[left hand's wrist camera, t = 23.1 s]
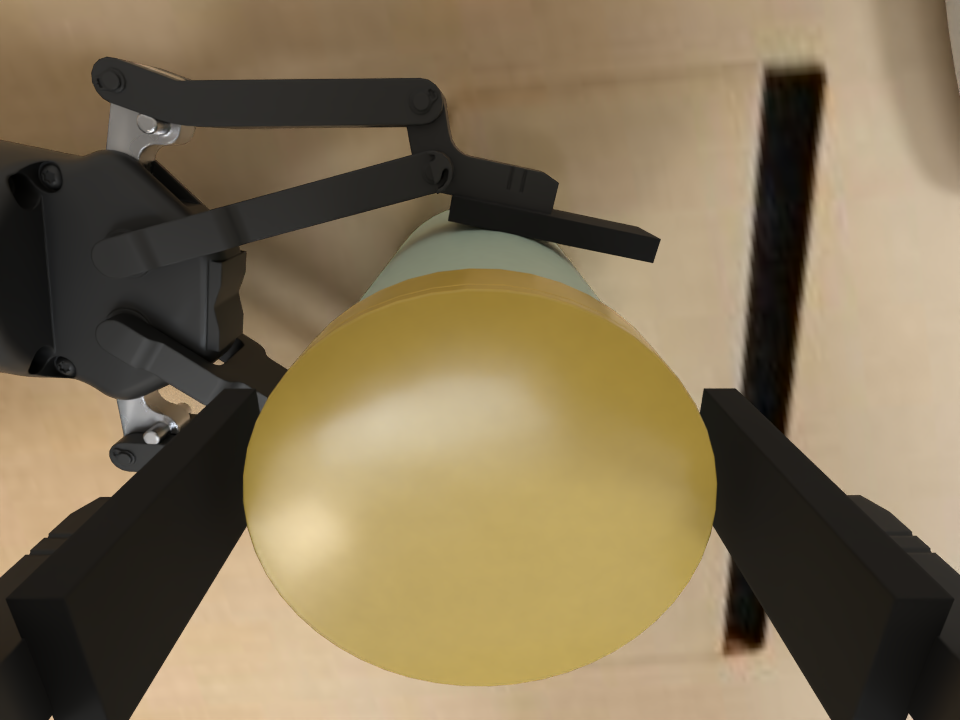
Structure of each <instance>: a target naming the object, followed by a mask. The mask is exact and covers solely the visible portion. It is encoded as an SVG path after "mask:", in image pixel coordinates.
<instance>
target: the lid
mask: <svg viewBox="0 0 960 720" xmlns="http://www.w3.org/2000/svg"><path fill="white" fill-rule="evenodd" d="M716 494H717V477H716V468H715V458H714V453H713V450H712V446H711V442H710V439H709V435H708V431H707V428H706V426H705V424H704V422H703V420H702V417H701V415H700V413H699V411H698V408H697V406H696V404H695V402H694V401H693V399H692V398H691V396H690V395H689V393H688V392H687V390H686V389H685V387H684V386H683V384H682V383H681V381H680V380H679V378H678V377H677V376H676V375H675V374H674V372H673V371H672V370H671V369H670V368H669V366H668V365H667V364H666V363H665V362H664V361H663V359H662V358H661V357H660V356H659V355H658V353H657V352H656V351H655V350H654V349H653V348H652V346H651V345H650V344H649V343H648V342H647V341H646V340H645V339H644V338H643V336H642V335H641V334H640V333H639V332H638V331H637V330H636V329H635V328H634V327H633V326H632V325H631V324H630V323H628V322H627V321H626V320H625V319H624V318H622V317H621V316H620V315H619V314H617V313H616V312H615V311H614V310H613V309H611V308H609V307H608V306H606V305H604V304H603V303H601V302H600V301H598V300H596V299H595V298H593V297H591V296H590V295H588V294H586V293H584V292H582V291H579V290H577V289H575V288H572V287H570V286H568V285H566V284H563V283H561V282H558V281H554V280H551V279H548V278H544V277H541V276H537V275H534V274H530V273H523V272H516V271H510V270H503V269H472V268H469V269H460V270H450V271H441V272H436V273H431V274H427V275H423V276H419V277H415V278H411V279H407V280H405V281H402V282H400V283H397V284H395V285H392V286H390V287H387V288H384V289H382V290H380V291H378V292H376V293H374V294H372V295H371V296H369V297H367V298H365V299H363V300H362V301H360V302H358V303H356V304H354V305H353V306H352V307H350V308H349V309H348V310H347V311H345V312H344V313H343V314H341V315H340V316H339V317H337V318H336V319H335V320H333V321H332V322H331V323H330V324H329V325H328V326H327V327H326V328H325V329H324V330H323V331H322V332H321V333H320V334H319V335H318V336H317V337H316V338H315V339H314V340H313V341H312V342H311V343H310V345H309V346H308V347H307V348H306V349H305V351H304V352H303V353H302V354H301V355H300V356H299V358H298V359H297V360H296V361H295V362H294V363H293V365H292V366H291V367H290V368H289V369H288V371H287V372H286V373H285V375H284V376H283V377H282V379H281V380H280V381H279V383H278V384H277V386H276V387H275V388H274V390H273V391H272V392H271V394H270V395H269V397H268V399H267V401H266V403H265V405H264V407H263V408H262V410H261V412H260V414H259V416H258V418H257V420H256V422H255V426H254V429H253V432H252V435H251V438H250V441H249V444H248V447H247V452H246V459H245V465H244V472H243V504H244V510H245V516H246V522H247V528H248V531H249V534H250V537H251V540H252V543H253V546H254V549H255V552H256V554H257V556H258V558H259V560H260V562H261V565H262V567H263V569H264V571H265V573H266V575H267V576H268V578H269V579H270V581H271V582H272V584H273V585H274V587H275V588H276V590H277V591H278V592H279V594H280V595H281V597H282V598H283V599H284V600H285V601H286V602H287V603H288V605H289V606H290V607H291V608H292V609H293V610H294V611H295V613H296V614H297V615H298V616H299V617H300V618H302V619H303V620H304V621H305V622H306V623H307V624H308V625H309V626H311V627H312V628H313V629H314V630H315V631H316V632H317V633H319V634H320V635H322V636H323V637H324V638H326V639H327V640H329V641H330V642H332V643H333V644H334V645H336V646H337V647H339V648H341V649H343V650H344V651H346V652H348V653H350V654H352V655H353V656H355V657H357V658H359V659H361V660H363V661H365V662H368V663H370V664H372V665H375V666H377V667H379V668H382V669H384V670H387V671H390V672H394V673H397V674H400V675H403V676H406V677H410V678H414V679H419V680H424V681H429V682H434V683H440V684H450V685H459V686H499V685H512V684H519V683H525V682H531V681H537V680H542V679H546V678H549V677H553V676H556V675H560V674H564V673H567V672H570V671H572V670H575V669H578V668H580V667H583V666H585V665H588V664H590V663H593V662H595V661H597V660H599V659H601V658H603V657H604V656H606V655H608V654H610V653H612V652H614V651H616V650H617V649H619V648H621V647H622V646H624V645H625V644H627V643H628V642H630V641H631V640H633V639H634V638H636V637H637V636H638V635H640V634H641V633H642V632H643V631H644V630H646V629H647V628H648V627H649V626H650V625H652V624H653V623H654V622H655V621H656V620H657V619H658V618H659V617H660V616H661V615H662V614H663V613H664V612H665V611H666V610H667V609H668V608H669V607H670V606H671V605H672V604H673V603H674V601H675V600H676V599H677V597H678V596H679V595H680V593H681V592H682V591H683V589H684V588H685V586H686V585H687V584H688V582H689V581H690V579H691V577H692V575H693V574H694V572H695V570H696V568H697V566H698V564H699V563H700V561H701V559H702V556H703V553H704V551H705V548H706V545H707V543H708V540H709V537H710V534H711V530H712V525H713V520H714V515H715V511H716Z"/></svg>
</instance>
